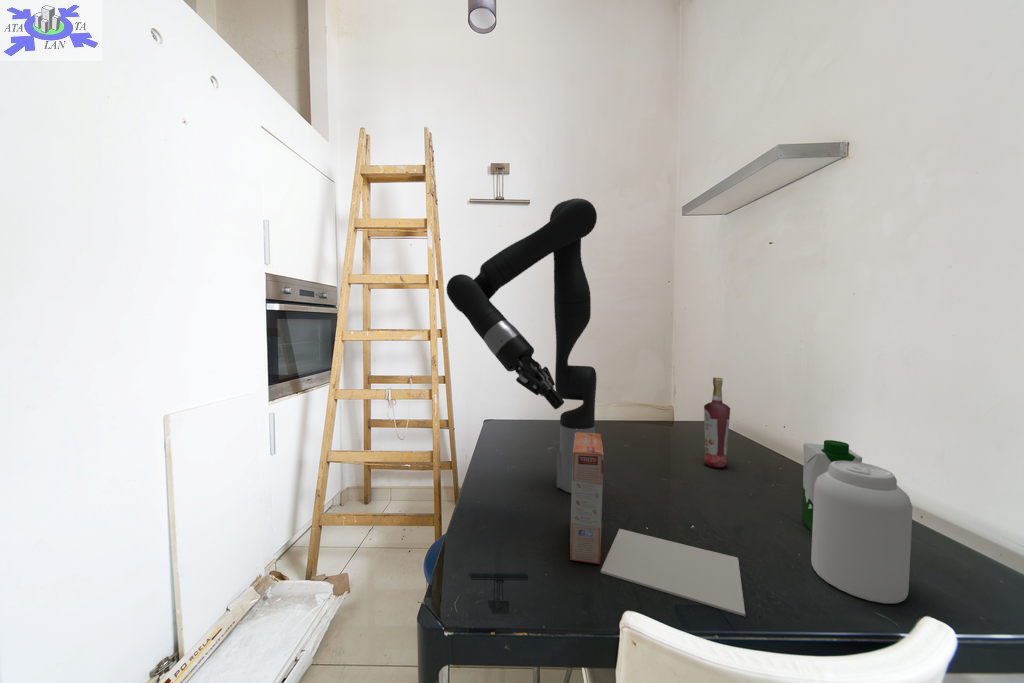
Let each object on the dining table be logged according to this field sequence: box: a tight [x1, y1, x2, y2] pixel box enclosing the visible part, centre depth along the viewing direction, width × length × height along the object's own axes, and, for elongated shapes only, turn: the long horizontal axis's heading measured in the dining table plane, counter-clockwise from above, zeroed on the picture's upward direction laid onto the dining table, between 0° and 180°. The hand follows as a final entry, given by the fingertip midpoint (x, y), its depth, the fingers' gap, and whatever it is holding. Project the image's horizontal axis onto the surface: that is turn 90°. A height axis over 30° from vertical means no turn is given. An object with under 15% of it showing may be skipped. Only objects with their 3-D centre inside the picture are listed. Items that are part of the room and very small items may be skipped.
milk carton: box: [801, 439, 863, 533], centre depth 82 cm, size 9×9×20 cm
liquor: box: [703, 377, 731, 469], centre depth 121 cm, size 7×7×28 cm
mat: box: [600, 528, 746, 617], centre depth 70 cm, size 22×16×1 cm
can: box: [810, 461, 913, 604], centre depth 66 cm, size 12×12×20 cm
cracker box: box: [569, 432, 604, 565], centre depth 77 cm, size 14×6×21 cm, turn 168°
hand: (560, 406), depth 79 cm, fingers closed
